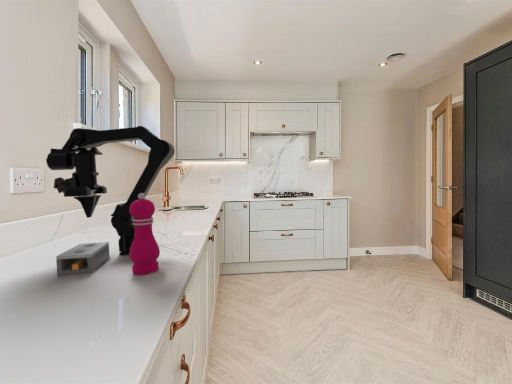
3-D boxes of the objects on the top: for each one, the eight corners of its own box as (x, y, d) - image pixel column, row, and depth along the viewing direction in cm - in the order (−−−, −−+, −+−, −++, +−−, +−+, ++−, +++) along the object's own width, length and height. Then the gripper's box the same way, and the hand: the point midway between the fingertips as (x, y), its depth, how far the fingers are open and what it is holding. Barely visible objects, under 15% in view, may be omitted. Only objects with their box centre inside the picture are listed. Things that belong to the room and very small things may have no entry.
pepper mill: (166, 267, 73) (162, 191, 72) (147, 276, 66) (142, 193, 65) (144, 265, 75) (140, 192, 74) (123, 274, 68) (119, 194, 67)
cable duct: (109, 257, 84) (108, 244, 84) (92, 272, 71) (91, 256, 70) (80, 259, 83) (79, 246, 83) (57, 275, 69) (56, 259, 69)
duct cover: (108, 244, 84) (108, 241, 84) (91, 256, 70) (91, 253, 70) (79, 246, 82) (79, 243, 82) (56, 259, 69) (56, 255, 69)
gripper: (71, 171, 96) (74, 215, 97) (41, 168, 78) (45, 223, 78) (105, 170, 98) (108, 213, 99) (84, 167, 80) (88, 220, 81)
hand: (89, 217), depth 89 cm, fingers closed
